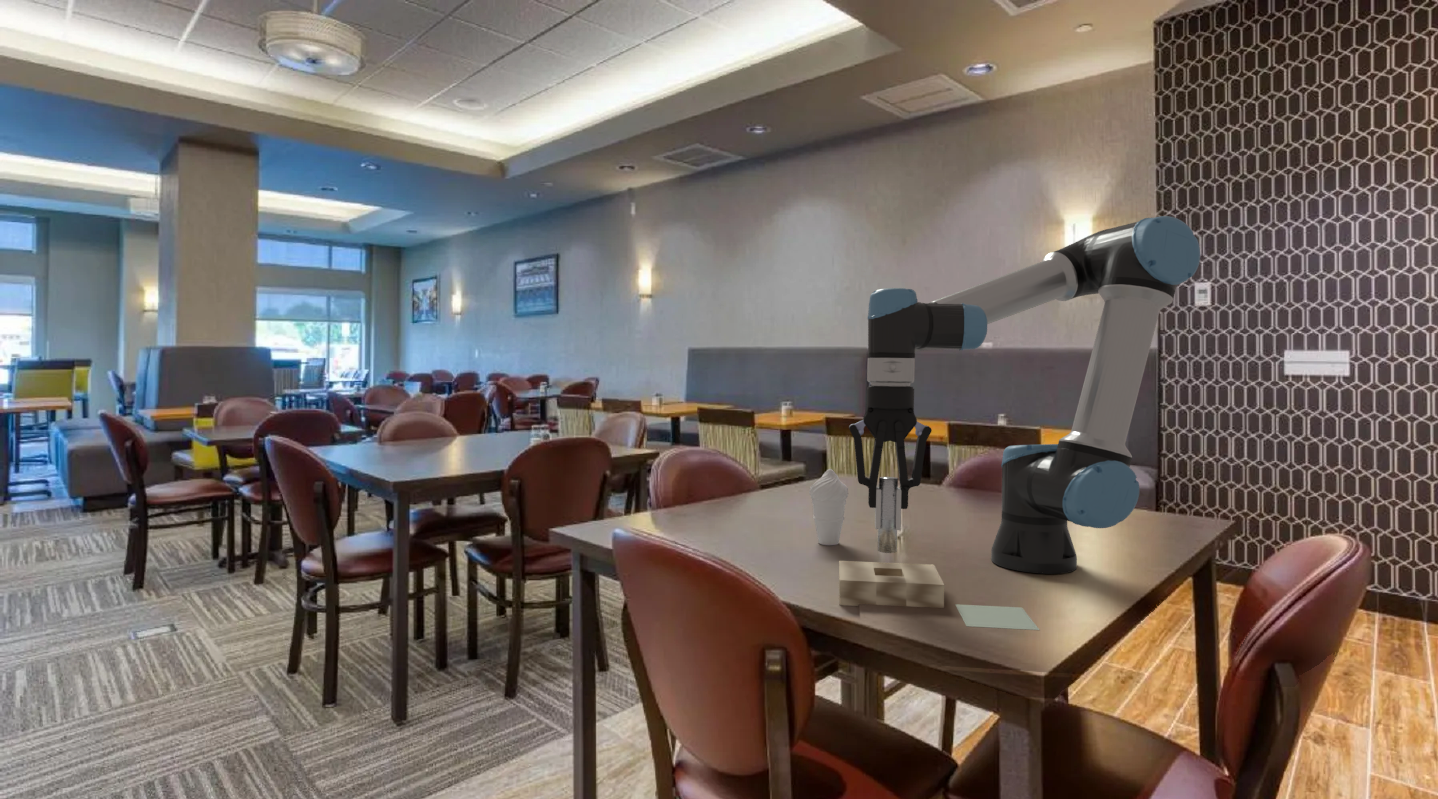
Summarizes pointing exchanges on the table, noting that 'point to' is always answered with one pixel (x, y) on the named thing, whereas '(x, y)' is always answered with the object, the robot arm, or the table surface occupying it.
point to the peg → (888, 515)
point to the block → (890, 584)
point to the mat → (996, 617)
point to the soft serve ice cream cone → (828, 507)
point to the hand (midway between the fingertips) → (887, 527)
